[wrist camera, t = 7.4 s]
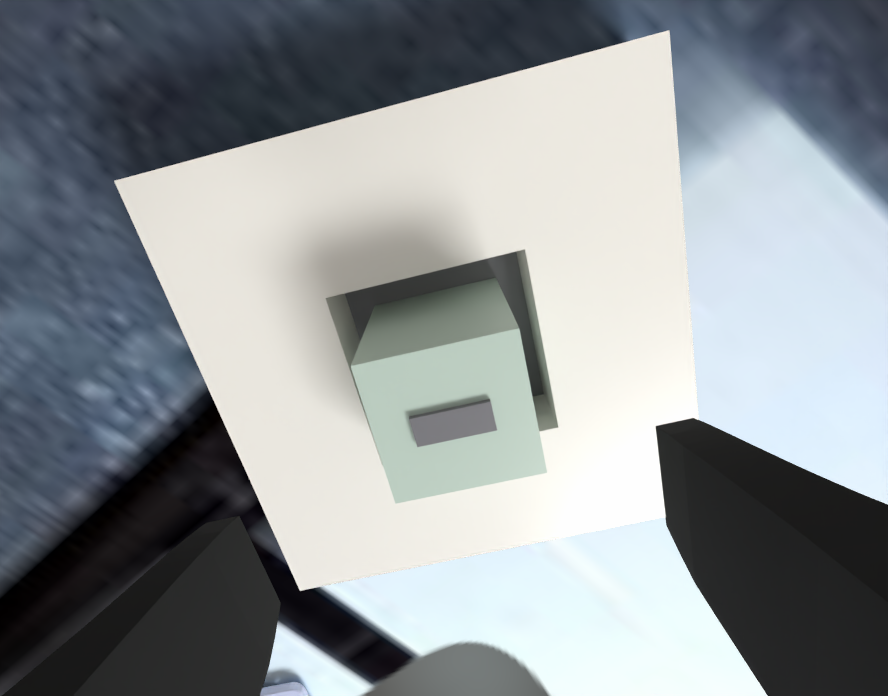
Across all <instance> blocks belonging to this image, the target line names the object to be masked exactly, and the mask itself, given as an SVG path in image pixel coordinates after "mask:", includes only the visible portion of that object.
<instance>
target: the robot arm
mask: <svg viewBox="0 0 888 696" xmlns="http://www.w3.org/2000/svg"><path fill="white" fill-rule="evenodd" d="M656 435H657V444H658V453H659V462H660V471H661V480H662V489H663V498H664V507H665V516H666V525H667V527H668V529H669V531H670V534H671V536H672V538H673V540H674V542H675V544H676V546H677V548H678V550H679V552H680V554H681V556H682V558H683V560H684V562H685V564H686V566H687V568H688V570H689V572H690V574H691V576H692V578H693V580H694V582H695V584H696V585H697V587H698V588H699V590H700V592H701V593H702V595H703V596H704V598H705V599H706V601H707V603H708V604H709V606H710V607H711V609H712V610H713V612H714V614H715V615H716V617H717V618H718V620H719V621H720V623H721V624H722V626H723V628H724V629H725V631H726V632H727V634H728V635H729V637H730V638H731V640H732V641H733V643H734V644H735V646H736V648H737V649H738V651H739V652H740V654H741V655H742V657H743V658H744V660H745V661H746V663H747V664H748V666H749V668H750V669H751V671H752V672H753V674H754V675H755V677H756V678H757V680H758V681H759V683H760V684H761V686H762V688H763V689H764V691H765V692H766V694H767V695H768V696H888V505H887V504H885V503H882V502H880V501H877V500H875V499H872V498H870V497H867V496H865V495H862V494H860V493H858V492H855V491H853V490H851V489H848V488H846V487H844V486H841V485H839V484H837V483H834V482H832V481H830V480H827V479H825V478H823V477H821V476H818V475H816V474H814V473H812V472H809V471H807V470H805V469H803V468H801V467H798V466H796V465H794V464H792V463H790V462H788V461H785V460H783V459H781V458H779V457H777V456H775V455H772V454H770V453H768V452H766V451H764V450H762V449H760V448H758V447H756V446H753V445H751V444H749V443H747V442H745V441H743V440H741V439H739V438H737V437H735V436H732V435H730V434H728V433H726V432H724V431H722V430H720V429H718V428H715V427H713V426H711V425H709V424H707V423H704V422H702V421H700V420H697V419H695V418H690V419H686V420H681V421H677V422H672V423H667V424H663V425H658V426H656ZM280 604H281V603H280V601H279V599H278V597H277V594H276V592H275V590H274V588H273V586H272V584H271V582H270V580H269V578H268V576H267V573H266V571H265V569H264V567H263V565H262V563H261V561H260V559H259V557H258V555H257V552H256V550H255V548H254V546H253V544H252V542H251V540H250V538H249V536H248V533H247V531H246V529H245V527H244V525H243V523H242V521H241V519H240V517H239V516H237V517H232V518H227V519H223V520H218V521H213V522H209V523H206V524H204V525H203V526H202V527H200V528H199V529H198V530H196V531H195V532H193V533H192V534H191V535H190V536H188V537H187V538H186V539H185V540H184V541H182V542H181V543H180V544H179V545H177V546H176V547H175V548H174V549H173V550H172V551H170V552H169V553H168V554H167V555H166V556H165V557H163V558H162V559H161V560H160V561H159V562H158V563H157V564H155V565H154V566H153V567H152V568H151V569H150V570H149V571H147V572H146V573H145V574H144V575H143V576H142V577H141V578H139V579H138V580H137V581H136V582H135V583H134V584H133V585H132V586H130V587H129V588H128V589H127V590H126V591H125V592H124V593H122V594H121V595H120V596H119V597H118V598H117V599H116V600H114V601H113V602H112V603H111V604H110V605H109V606H108V607H106V608H105V609H104V610H103V611H102V612H101V613H100V614H99V615H97V616H96V617H95V618H94V619H93V620H92V621H91V622H89V623H88V624H87V625H86V626H85V627H84V628H82V629H81V630H80V631H79V632H78V633H77V634H75V635H74V636H73V637H72V638H71V639H69V640H68V641H67V642H66V643H65V644H63V645H62V646H61V647H60V648H59V649H57V650H56V651H55V652H54V653H53V654H51V655H50V656H49V657H48V658H47V659H46V660H44V661H43V662H42V663H41V664H40V665H38V666H37V667H36V668H35V669H34V670H32V671H31V672H30V673H29V674H28V675H26V676H25V677H24V678H23V679H22V680H20V681H19V682H18V683H17V684H16V685H14V686H13V687H12V688H11V689H10V690H8V691H7V692H6V693H5V694H3V695H2V696H309V695H308V693H307V691H306V689H305V687H304V686H303V685H302V684H300V683H297V682H290V683H284V684H279V685H274V686H269V687H263V684H264V681H265V677H266V674H267V670H268V667H269V663H270V658H271V654H272V649H273V644H274V639H275V633H276V627H277V622H278V616H279V610H280ZM262 687H263V688H262Z"/></svg>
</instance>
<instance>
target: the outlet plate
mask: <svg viewBox="0 0 888 696" xmlns="http://www.w3.org/2000/svg"><path fill="white" fill-rule="evenodd" d="M114 182H115V184H116V186H117V189H118V191H119V193H120V195H121V197H122V200H123V202H124V204H125V206H126V208H127V211H128V213H129V215H130V217H131V219H132V222H133V224H134V226H135V228H136V230H137V233H138V235H139V237H140V239H141V241H142V244H143V246H144V248H145V250H146V252H147V255H148V257H149V259H150V261H151V263H152V266H153V268H154V270H155V272H156V275H157V277H158V279H159V281H160V283H161V286H162V288H163V290H164V292H165V294H166V297H167V299H168V301H169V303H170V305H171V308H172V310H173V312H174V314H175V316H176V319H177V321H178V323H179V325H180V327H181V330H182V332H183V334H184V336H185V338H186V341H187V343H188V345H189V347H190V349H191V352H192V354H193V356H194V358H195V360H196V363H197V365H198V367H199V369H200V371H201V374H202V376H203V378H204V380H205V382H206V385H207V387H208V389H209V391H210V393H211V396H212V398H213V400H214V402H215V404H216V407H217V409H218V411H219V413H220V415H221V418H222V420H223V422H224V424H225V426H226V429H227V431H228V433H229V435H230V438H231V440H232V442H233V444H234V446H235V449H236V451H237V453H238V455H239V457H240V460H241V462H242V464H243V466H244V468H245V471H246V473H247V475H248V477H249V479H250V482H251V484H252V486H253V488H254V490H255V493H256V495H257V497H258V499H259V501H260V504H261V506H262V508H263V510H264V512H265V515H266V517H267V519H268V521H269V523H270V526H271V528H272V530H273V532H274V534H275V537H276V539H277V541H278V543H279V545H280V548H281V550H282V552H283V554H284V556H285V559H286V561H287V563H288V565H289V567H290V570H291V572H292V574H293V576H294V578H295V581H296V583H297V585H298V587H299V590H300V591H301V590H306V589H311V588H316V587H321V586H326V585H331V584H336V583H341V582H345V581H350V580H355V579H360V578H365V577H370V576H375V575H380V574H385V573H390V572H395V571H400V570H405V569H410V568H415V567H420V566H425V565H430V564H435V563H440V562H445V561H450V560H454V559H459V558H464V557H469V556H474V555H479V554H484V553H489V552H494V551H499V550H504V549H509V548H514V547H519V546H524V545H529V544H534V543H539V542H544V541H549V540H554V539H559V538H563V537H568V536H573V535H578V534H583V533H588V532H593V531H598V530H603V529H608V528H613V527H618V526H623V525H628V524H633V523H638V522H643V521H648V520H653V519H658V518H663V517H666V516H665V507H664V498H663V489H662V480H661V471H660V462H659V453H658V444H657V435H656V426H658V425H663V424H667V423H672V422H677V421H681V420H686V419H690V418H695V419H697V420H699V417H698V404H697V390H696V377H695V364H694V351H693V337H692V324H691V311H690V298H689V284H688V271H687V258H686V245H685V231H684V218H683V205H682V192H681V178H680V165H679V152H678V138H677V125H676V112H675V99H674V85H673V72H672V59H671V46H670V32H669V31H665V32H661V33H658V34H654V35H650V36H647V37H643V38H639V39H636V40H632V41H628V42H624V43H621V44H617V45H613V46H610V47H606V48H602V49H599V50H595V51H591V52H588V53H584V54H580V55H577V56H573V57H569V58H565V59H562V60H558V61H554V62H551V63H547V64H543V65H540V66H536V67H532V68H529V69H525V70H521V71H518V72H514V73H510V74H506V75H503V76H499V77H495V78H492V79H488V80H484V81H481V82H477V83H473V84H470V85H466V86H462V87H459V88H455V89H451V90H448V91H444V92H440V93H436V94H433V95H429V96H425V97H422V98H418V99H414V100H411V101H407V102H403V103H400V104H396V105H392V106H389V107H385V108H381V109H377V110H374V111H370V112H366V113H363V114H359V115H355V116H352V117H348V118H344V119H341V120H337V121H333V122H330V123H326V124H322V125H318V126H315V127H311V128H307V129H304V130H300V131H296V132H293V133H289V134H285V135H282V136H278V137H274V138H271V139H267V140H263V141H260V142H256V143H252V144H248V145H245V146H241V147H237V148H234V149H230V150H226V151H223V152H219V153H215V154H212V155H208V156H204V157H201V158H197V159H193V160H189V161H186V162H182V163H178V164H175V165H171V166H167V167H164V168H160V169H156V170H153V171H149V172H145V173H142V174H138V175H134V176H130V177H127V178H123V179H119V180H116V181H114ZM492 278H496V279H497V281H498V283H499V285H500V288H501V290H502V292H503V294H504V296H505V298H506V301H507V303H508V305H509V307H510V309H511V311H512V314H513V316H514V318H515V320H516V322H517V324H518V327H519V330H520V335H521V340H522V345H523V350H524V355H525V361H526V366H527V371H528V376H529V381H530V386H531V392H532V397H533V402H534V407H535V412H536V417H537V423H538V428H539V433H540V438H541V443H542V448H543V454H544V459H545V464H546V469H547V473H544V474H539V475H534V476H529V477H524V478H519V479H514V480H509V481H504V482H499V483H495V484H490V485H485V486H480V487H475V488H470V489H465V490H460V491H455V492H450V493H446V494H441V495H436V496H431V497H426V498H421V499H416V500H411V501H406V502H401V503H397V504H395V501H394V497H393V494H392V491H391V488H390V485H389V482H388V479H387V476H386V473H385V470H384V467H383V464H382V461H381V458H380V455H379V452H378V449H377V446H376V443H375V440H374V436H373V433H372V430H371V427H370V424H369V421H368V418H367V415H366V412H365V409H364V406H363V403H362V400H361V397H360V394H359V391H358V388H357V385H356V382H355V378H354V375H353V372H352V369H351V364H352V361H353V359H354V356H355V354H356V351H357V349H358V346H359V344H360V341H361V339H362V336H363V334H364V331H365V329H366V326H367V324H368V321H369V319H370V316H371V314H372V311H373V309H374V306H376V305H380V304H384V303H389V302H393V301H397V300H402V299H406V298H410V297H414V296H419V295H423V294H427V293H432V292H436V291H440V290H444V289H449V288H453V287H457V286H462V285H466V284H470V283H475V282H479V281H483V280H487V279H492Z"/></svg>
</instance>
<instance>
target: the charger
mask: <svg viewBox="0 0 888 696" xmlns="http://www.w3.org/2000/svg"><path fill="white" fill-rule="evenodd" d="M351 369H352V372H353V375H354V378H355V382H356V385H357V388H358V391H359V394H360V397H361V400H362V403H363V406H364V409H365V412H366V415H367V418H368V421H369V424H370V427H371V430H372V433H373V436H374V440H375V443H376V446H377V449H378V452H379V455H380V458H381V461H382V464H383V467H384V470H385V473H386V476H387V479H388V482H389V485H390V488H391V491H392V494H393V497H394V501H395V504H397V503H401V502H406V501H411V500H416V499H421V498H426V497H431V496H436V495H441V494H446V493H450V492H455V491H460V490H465V489H470V488H475V487H480V486H485V485H490V484H495V483H499V482H504V481H509V480H514V479H519V478H524V477H529V476H534V475H539V474H544V473H547V469H546V464H545V459H544V454H543V448H542V443H541V438H540V433H539V428H538V423H537V417H536V412H535V407H534V402H533V397H532V392H531V386H530V381H529V376H528V371H527V366H526V361H525V355H524V350H523V345H522V340H521V335H520V330H519V327H518V324H517V322H516V320H515V318H514V316H513V314H512V311H511V309H510V307H509V305H508V303H507V301H506V298H505V296H504V294H503V292H502V290H501V288H500V285H499V283H498V281H497V279H496V278H492V279H487V280H483V281H479V282H475V283H470V284H466V285H462V286H457V287H453V288H449V289H444V290H440V291H436V292H432V293H427V294H423V295H419V296H414V297H410V298H406V299H402V300H397V301H393V302H389V303H384V304H380V305H376V306H374V309H373V311H372V314H371V316H370V319H369V321H368V324H367V326H366V329H365V331H364V334H363V336H362V339H361V341H360V344H359V346H358V349H357V351H356V354H355V356H354V359H353V361H352V364H351Z"/></svg>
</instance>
